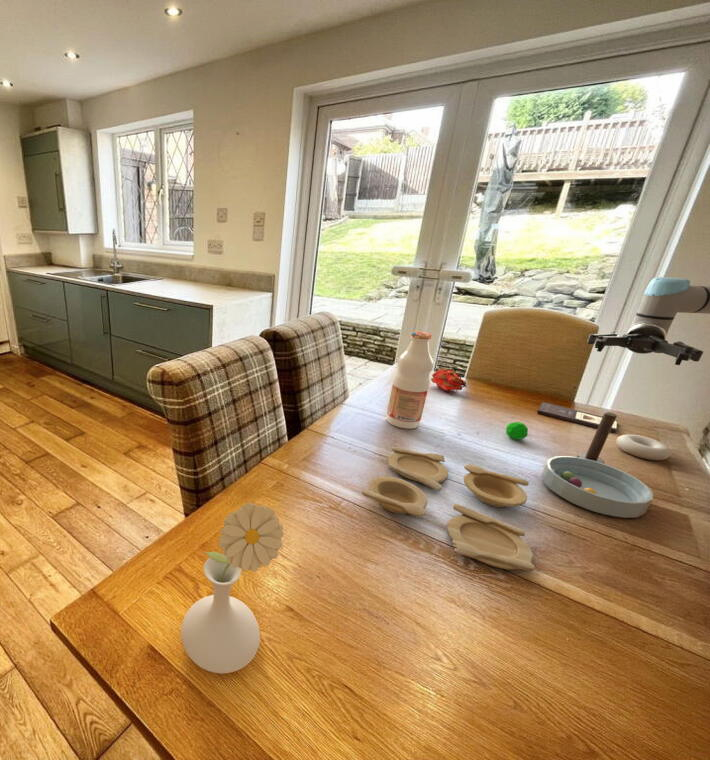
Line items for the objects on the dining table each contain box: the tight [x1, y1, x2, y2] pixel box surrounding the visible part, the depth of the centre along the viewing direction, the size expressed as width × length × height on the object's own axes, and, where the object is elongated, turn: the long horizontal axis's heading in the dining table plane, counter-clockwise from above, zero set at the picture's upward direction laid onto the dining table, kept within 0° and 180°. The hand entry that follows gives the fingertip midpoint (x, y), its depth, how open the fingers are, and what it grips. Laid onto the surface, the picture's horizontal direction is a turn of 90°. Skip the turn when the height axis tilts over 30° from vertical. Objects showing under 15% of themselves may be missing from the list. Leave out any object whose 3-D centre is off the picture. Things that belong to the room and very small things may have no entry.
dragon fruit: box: [430, 367, 467, 394], centre depth 143 cm, size 8×8×12 cm
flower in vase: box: [180, 502, 285, 674], centre depth 53 cm, size 13×11×25 cm
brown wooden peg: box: [576, 411, 618, 464], centre depth 98 cm, size 5×5×14 cm
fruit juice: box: [385, 331, 434, 430], centre depth 115 cm, size 9×9×28 cm
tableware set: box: [361, 446, 535, 572], centre depth 85 cm, size 35×29×4 cm
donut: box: [615, 433, 672, 461], centre depth 105 cm, size 10×4×10 cm
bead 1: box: [561, 471, 575, 482], centre depth 92 cm, size 2×2×2 cm
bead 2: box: [568, 478, 582, 488], centre depth 89 cm, size 2×2×2 cm
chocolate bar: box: [537, 401, 618, 433], centre depth 123 cm, size 9×1×18 cm
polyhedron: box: [505, 421, 529, 441], centre depth 111 cm, size 5×5×5 cm
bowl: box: [541, 455, 654, 519], centre depth 88 cm, size 17×17×4 cm
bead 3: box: [583, 488, 597, 494], centre depth 86 cm, size 2×2×2 cm
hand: (638, 352), depth 97 cm, fingers open, 13 cm apart
